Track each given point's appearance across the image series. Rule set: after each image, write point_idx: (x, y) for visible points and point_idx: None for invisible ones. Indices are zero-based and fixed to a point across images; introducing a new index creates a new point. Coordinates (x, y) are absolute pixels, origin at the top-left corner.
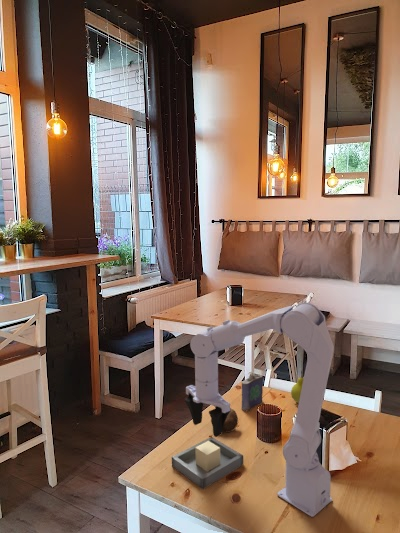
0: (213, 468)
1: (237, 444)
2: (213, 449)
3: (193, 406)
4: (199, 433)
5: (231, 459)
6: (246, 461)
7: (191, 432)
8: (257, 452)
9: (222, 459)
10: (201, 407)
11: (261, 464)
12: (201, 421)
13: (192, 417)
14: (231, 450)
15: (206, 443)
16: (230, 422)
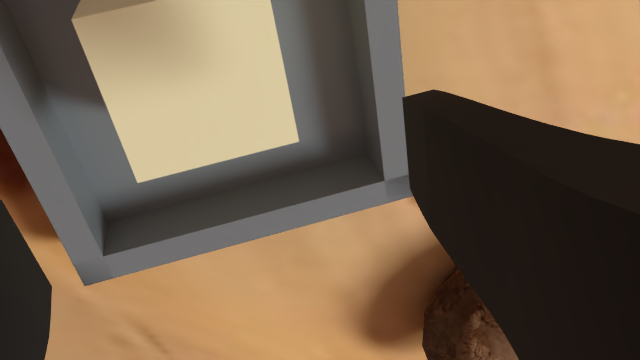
0: None
1: (303, 292)
2: (140, 119)
3: (601, 260)
4: None
5: (68, 198)
6: None
7: (591, 112)
8: (172, 350)
9: None
10: (524, 349)
11: None
12: (415, 198)
13: (490, 114)
14: (181, 243)
15: (267, 107)
16: (449, 355)
